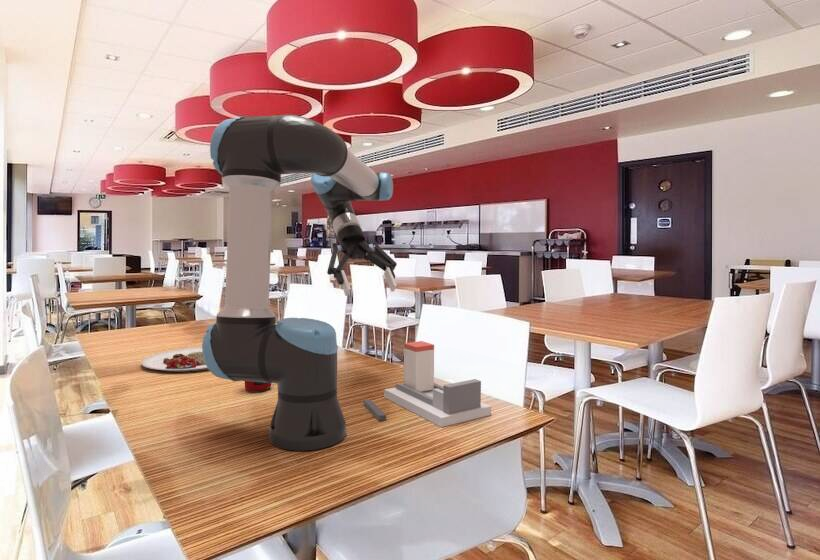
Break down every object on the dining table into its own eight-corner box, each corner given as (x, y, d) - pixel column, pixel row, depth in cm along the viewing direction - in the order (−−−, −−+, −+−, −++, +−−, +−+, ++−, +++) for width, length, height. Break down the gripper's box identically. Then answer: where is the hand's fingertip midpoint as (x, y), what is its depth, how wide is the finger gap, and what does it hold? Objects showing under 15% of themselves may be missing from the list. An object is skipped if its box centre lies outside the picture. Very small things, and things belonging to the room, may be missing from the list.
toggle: (403, 387, 127) (404, 343, 126) (421, 383, 130) (421, 341, 129) (415, 392, 122) (416, 347, 121) (433, 389, 125) (434, 344, 124)
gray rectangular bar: (386, 422, 110) (386, 415, 110) (379, 423, 110) (379, 415, 110) (370, 405, 121) (370, 398, 121) (363, 405, 121) (363, 399, 121)
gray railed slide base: (384, 397, 126) (384, 366, 126) (429, 388, 134) (430, 359, 133) (441, 427, 106) (441, 390, 106) (491, 414, 114) (491, 380, 113)
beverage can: (263, 393, 129) (262, 347, 128) (239, 392, 130) (238, 346, 129) (275, 386, 135) (275, 342, 134) (252, 384, 137) (252, 341, 136)
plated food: (243, 350, 181) (243, 340, 180) (243, 370, 152) (243, 359, 152) (150, 355, 171) (150, 346, 171) (132, 379, 143) (131, 367, 143)
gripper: (383, 239, 155) (407, 295, 144) (304, 242, 142) (324, 303, 131) (391, 222, 149) (416, 278, 138) (310, 224, 137) (331, 285, 126)
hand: (371, 290), depth 135 cm, fingers open, 13 cm apart
